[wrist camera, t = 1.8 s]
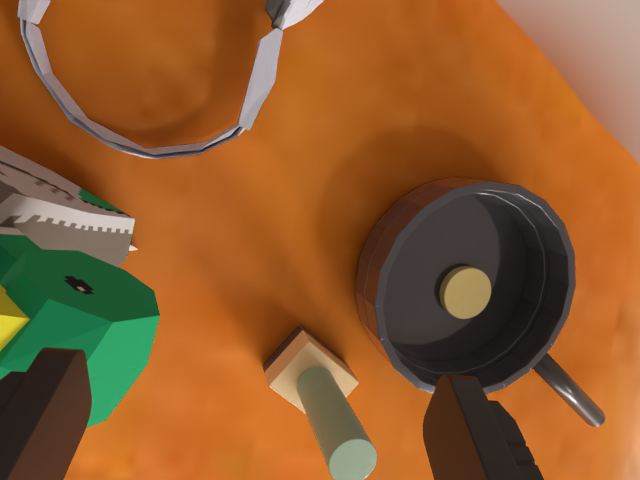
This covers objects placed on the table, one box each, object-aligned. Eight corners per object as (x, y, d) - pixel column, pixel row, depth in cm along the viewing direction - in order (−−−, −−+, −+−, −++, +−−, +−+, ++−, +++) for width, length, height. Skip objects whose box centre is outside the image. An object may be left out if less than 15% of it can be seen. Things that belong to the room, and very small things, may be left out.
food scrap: (429, 294, 35) (434, 297, 34) (464, 254, 35) (470, 257, 34) (460, 325, 36) (466, 329, 35) (494, 287, 36) (501, 290, 36)
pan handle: (513, 351, 36) (528, 361, 34) (527, 336, 36) (542, 344, 34) (584, 423, 39) (600, 434, 38) (597, 408, 39) (613, 419, 38)
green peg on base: (262, 365, 33) (291, 467, 23) (299, 324, 33) (346, 406, 23) (310, 402, 35) (359, 513, 24) (346, 362, 35) (410, 456, 25)
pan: (311, 289, 33) (328, 311, 29) (453, 133, 33) (491, 132, 29) (441, 403, 38) (472, 436, 34) (564, 265, 38) (610, 280, 34)
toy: (-351, 13, 17) (-56, 319, 10) (57, 135, 33) (278, 286, 26) (-400, 170, 18) (-157, 545, 11) (21, 215, 33) (226, 381, 27)
